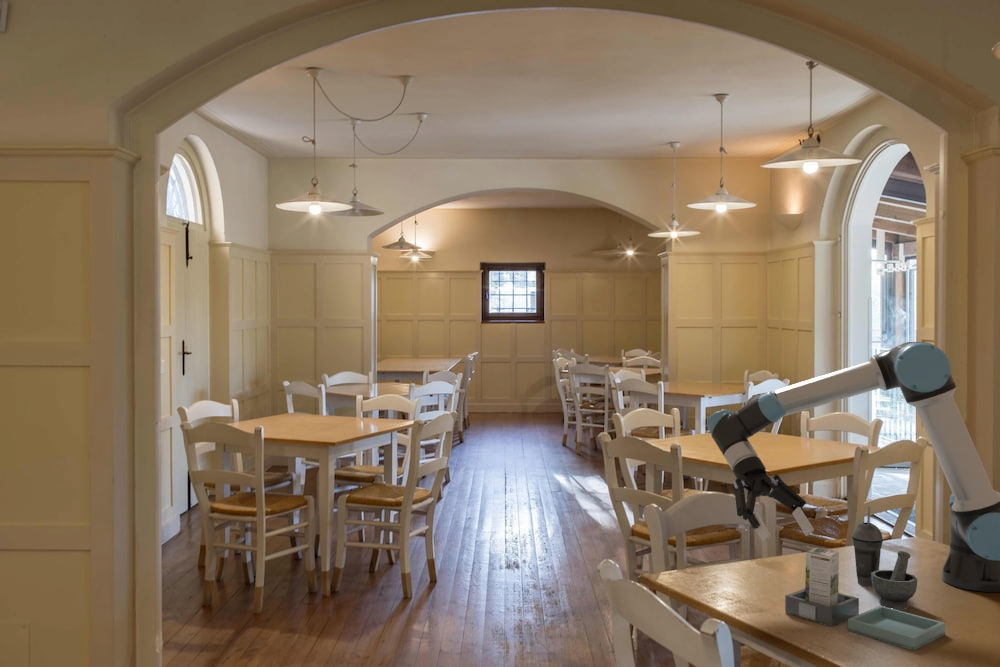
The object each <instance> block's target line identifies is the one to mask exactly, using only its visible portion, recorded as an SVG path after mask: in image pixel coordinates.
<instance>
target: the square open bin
mask: <svg viewBox="0 0 1000 667" xmlns="http://www.w3.org/2000/svg"><path fill="white" fill-rule="evenodd" d="M784 599H785V600H784V601H785V602H784V603H785V604H784V608H785V610H784V611H785V612H784V613H785V614H788V615H790V614H791V616H794V617H798V618H800V617H801V618H802V619H804V620H807V619H808V621H810V620H812V621H811V622H814V623H817V622H818V624H820V623H822V624H821V625H823V624H825V625H824V626H826V627H830V628H833V627H836V626H838V625H840V624H842V623H843V624H844V623H845V622H848V619H849V618H852V617H854V616H857V615H859V614H860V600H859V599H860V598H859V597H856V596H853V595H848V594H844V593H842V592H838V604H836V605H833V606H826V605H823V604H819V603H816V602H812V601H809V600H805V588H802V589H800V590H797V591H793V592H791V593H788V594H786V595H785V598H784Z"/></svg>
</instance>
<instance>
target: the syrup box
mask: <svg viewBox="0 0 1000 667" xmlns="http://www.w3.org/2000/svg"><path fill="white" fill-rule="evenodd" d="M839 565H840V553H839V551H837V550H833V549H830V548H823V547H814V548H812V549H810V550H808V551H807V552H805V575H804V576H805V579H804V580H805V581H804V582H805V585H804V586H805V587H804V589H805V600H809V601H812V602H816V603H819V604H823V605H826V606H833V605H836V604H838V593H839V575H840V572H839V569H840V566H839Z"/></svg>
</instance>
